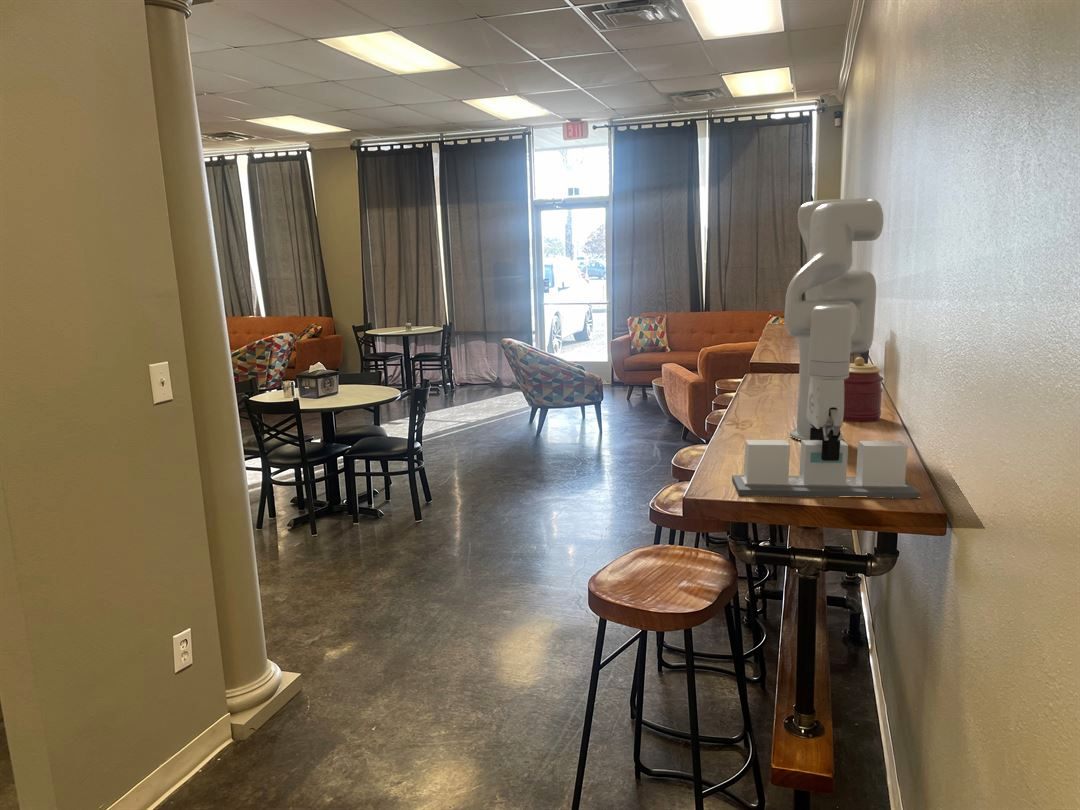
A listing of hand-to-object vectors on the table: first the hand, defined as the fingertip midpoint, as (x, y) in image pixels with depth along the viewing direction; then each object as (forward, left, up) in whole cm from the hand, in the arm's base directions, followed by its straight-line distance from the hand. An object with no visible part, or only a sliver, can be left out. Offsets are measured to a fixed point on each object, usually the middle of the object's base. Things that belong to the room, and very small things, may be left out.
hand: (823, 453), depth 145 cm
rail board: (+1, 0, -7) cm, 7 cm away
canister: (-68, +26, -8) cm, 73 cm away
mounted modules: (+1, 0, -6) cm, 6 cm away
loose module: (0, 0, -6) cm, 6 cm away
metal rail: (+1, 0, -6) cm, 6 cm away
